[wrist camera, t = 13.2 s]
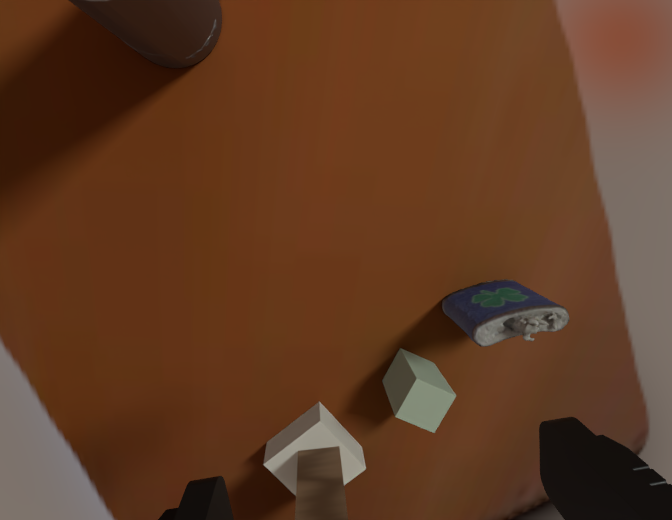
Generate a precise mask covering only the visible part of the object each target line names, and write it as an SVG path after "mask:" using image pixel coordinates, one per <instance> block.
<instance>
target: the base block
mask: <svg viewBox="0 0 672 520" xmlns="http://www.w3.org/2000/svg"><path fill="white" fill-rule="evenodd" d="M336 446H339V448H340V456H341V465H342V473H343V482H344V485H345V484H347V483H348V482H349V481H351V480H352V479H353V478H355V477H356V476H357V475H359V474H360V473H361V472H363V471H364V470H365V469H366V466H365V461H364V456H363V451H362V447H361V445H360V444H359V443H358V442H357V441H356V440H355V439H354V438H353V437H352V436H351V435H350V434H349V433H348V432H347V431H346V429H345V428H344V427H343V426H342V425H341V424H340V423H339V422H338V421H337V420H336V419H335V418H334V417H333V416H332V414H331V413H330V412H329V411H328V410H327V409H326V408H325V407H324V406H323V405H322V404H321V403H320V402H318V403H317V404H316V405H314V406H313V407H312V408H310V409H309V410H308V411H307V412H305V413H304V414H303V415H301V416H300V417H299V418H298V419H296V420H295V421H294V422H292V423H291V424H290V425H289V426H287V427H286V428H285V429H283V430H282V431H281V432H279V433H278V434H277V435H276V436H274V437H273V438H272V439H270V440H269V441H268V442H267V444H266V451H265V457H264V463H263V465H264V466H265V467H266V468H267V469H268V470H269V471H270V472H271V473H272V474H273V475H274V476H276V477H277V478H278V479H279V480H280V481H281V482H282V483H283V484H284V485H285V486H286V487H287V488H288V489H289V490H290V491H291V492H292V493H293V494H294V495H295V496H296V486H297V462H298V451H301V450H310V449H319V448H328V447H336Z"/></svg>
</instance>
